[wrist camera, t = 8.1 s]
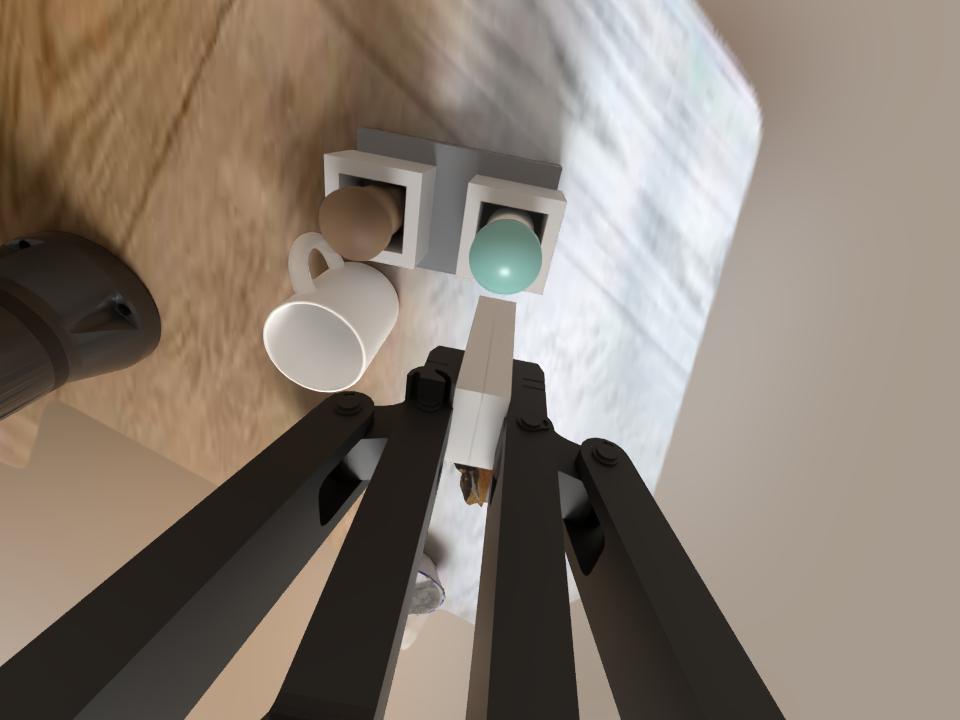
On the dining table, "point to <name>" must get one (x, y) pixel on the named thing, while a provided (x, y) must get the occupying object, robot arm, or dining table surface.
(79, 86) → the dining table surface
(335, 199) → the walnut plug
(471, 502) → the rock
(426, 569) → the bowl
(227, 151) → the dining table surface
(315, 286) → the mug
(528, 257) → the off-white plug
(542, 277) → the white plug holder
